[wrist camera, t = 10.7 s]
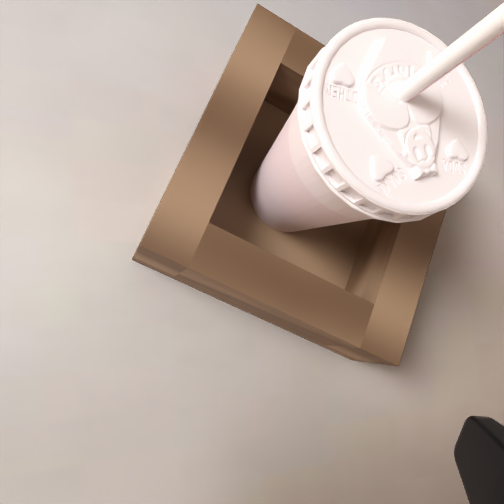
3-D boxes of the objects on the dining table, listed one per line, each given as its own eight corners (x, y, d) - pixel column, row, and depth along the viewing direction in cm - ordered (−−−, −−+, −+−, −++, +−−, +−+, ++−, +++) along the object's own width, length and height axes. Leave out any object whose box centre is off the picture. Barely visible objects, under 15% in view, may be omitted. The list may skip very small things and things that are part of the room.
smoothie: (322, 124, 25) (583, -108, 11) (358, 242, 24) (671, 143, 11) (206, 145, 22) (365, -112, 9) (244, 275, 22) (465, 199, 9)
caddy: (351, 359, 24) (398, 366, 20) (131, 259, 21) (139, 245, 18) (416, 161, 27) (468, 135, 23) (232, 53, 24) (257, 3, 21)
